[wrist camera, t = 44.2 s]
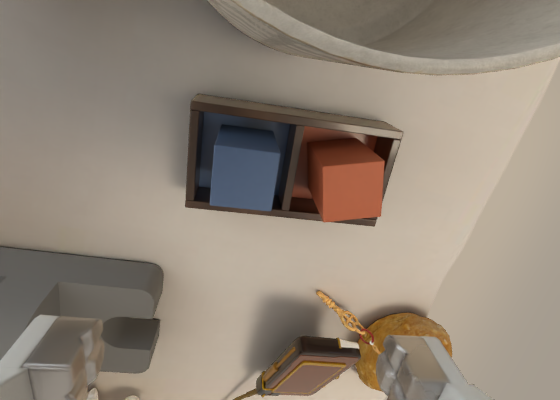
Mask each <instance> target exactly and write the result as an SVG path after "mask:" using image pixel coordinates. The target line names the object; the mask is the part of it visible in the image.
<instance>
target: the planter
mask: <svg viewBox="0 0 560 400" xmlns="http://www.w3.org/2000/svg"><path fill="white" fill-rule="evenodd" d="M207 1H208V2H209V3H210V4H211V5H212V6H213V7H214V8H215V9H216V10H217V11H218V12H219V13H220V14H221V15H222V16H223V17H224V18H225V19H226V20H227V21H228V22H230V23H231V24H232V25H233V26H234V27H236V28H237V29H238V30H240V31H241V32H243V33H244V34H246V35H247V36H249V37H250V38H252V39H254V40H256V41H258V42H259V43H261V44H263V45H265V46H268V47H270V48H272V49H275V50H277V51H281V52H284V53H287V54H291V55H295V56H301V57H306V58H312V59H319V60H325V61H331V62H338V63H344V64H350V65H357V66H363V67H369V68H376V69H382V70H388V71H395V72H401V73H413V74H426V75H468V74H480V73H487V72H494V71H501V70H508V69H515V68H519V67H523V66H527V65H531V64H536V63H540V62H544V61H548V60H552V59H555V58H558V57H560V0H207Z"/></svg>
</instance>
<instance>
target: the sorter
mask: <svg viewBox="0 0 560 400" xmlns="http://www.w3.org/2000/svg"><path fill="white" fill-rule="evenodd" d="M190 109H191V110H190V124H189V144H188V163H187V182H186V202H185V207H188V208H198V209H207V210H217V211H227V212H237V213H247V214H257V215H267V216H276V217H286V218H296V219H306V220H316V221H323V220H322V218H321V216H320V213H319V211H318V209H317V207H316V204H315V202H314V200H313V198H312V195H311V193H310V191H309V188H308V159H307V142H316V141H328V140H339V139H350V138H357V139H358V140H360V141H361V142H362V143H363V144H365V145H366V146H367V147H368V148H369V149H371V150H372V151H373V152H374V153H376V154H377V155H378V156H379V157H380V158H382V159H383V160H384V161H385V162H384V178H383V193H382V201H383V198H384V194H385V191H386V188H387V185H388V181H389V178H390V175H391V171H392V168H393V165H394V162H395V158H396V155H397V152H398V148H399V145H400V142H401V139H402V135H403V131H401V130H399V129H397V128H395V127H393V126H392V125H390V124H388V123H386V122H383V121H376V120H370V119H363V118H356V117H350V116H343V115H336V114H330V113H323V112H316V111H310V110H303V109H296V108H290V107H283V106H276V105H270V104H263V103H256V102H250V101H243V100H236V99H230V98H223V97H216V96H210V95H203V94H197V96H196V97H194V98H193V99H192V100H191V105H190ZM222 124H224V125H231V126H238V127H246V128H253V129H260V130H268V131H273V132H274V135H275V138H276V141H277V144H278V147H279V150H280V154H281V155H280V162H279V168H278V174H277V180H276V186H275V192H274V198H273V205H272V210H271V211H261V210H251V209H241V208H231V207H222V206H212V205H210V192H211V179H212V167H213V155H214V145H215V142H216V139H217V136H218V133H219V130H220V127H221V125H222ZM376 220H377V217H371V218H362V219H352V220H342V221H332V222H335V223H345V224H355V225H365V226H375V224H376Z"/></svg>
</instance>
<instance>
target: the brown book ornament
mask: <svg viewBox="0 0 560 400" xmlns="http://www.w3.org/2000/svg"><path fill="white" fill-rule="evenodd" d="M316 293H317V295H318V296H320V297H321V298H322V300H323V302H324V303H325V302H326V305H329V308H331V307H332V308H333V309H334V311H335V312H337V314H338V315H339V317H340V319H341V322H342V323H343V325H344V326H345V327H346V328H347V329H349V330H350V331H356V332H357V333H359V336H360V338H361V340H362V341H363V342H364V343H366V344H368V345H370V344H371V345H372V347H373V349H374V347H376V346H375V345H374V336H373V334H372V333H371V332H370V331H369V330H367V329H364V327H363V326H362V325H361V324H360V323H359V321H358V319H357V318H356V317H355V316H354V315H353V314H352V313H351V312H349V311H344V310H341V309H340V308H339V307H338V306H336V305H335V302H334V301H333V302H332V299H329V297H328V296H325V295H324V294H323V293H322V292H321V291H318V292H316ZM345 314H348V315H350V317H349V318H348V317H347V316H346V315H345ZM344 318H345V319H346V322H345V320H344ZM352 318H353V319H354V320H355V322H353V321H352V320H351V319H352ZM349 322H350V323H351V324H352V327H353V328H352V327H350V326H349V325H348V323H349ZM356 325H358V326H359V327H360V328H361V330H358V329H357V328H356ZM365 331H367V332H368V333H369V334H370V335H371V337H372V340H371V341H370V342H366V341H365V340H364V339H363V338H362V336H361V334H362V335H363V334H365ZM374 350H375V349H374ZM375 351H376V352H377V353H378V354H381V353H380V351H379V350H378V348H377V347H376V350H375ZM360 359H361V354H360V350H359V345H358V343H357V342H350V341H346V340H342V339H339V338H336V339H333V338H322V337H311V336H300V337H298V338H297V339H296V340H295V341H294V342H293V343H292V344H291V345H290V346H289V347H288V348H287V349H286V350H285V351H284V352H283V353H282V354H281V355H280V356H279V357H278V358H277V359H276V361H275V362H274V363H273V364H272V365H271V366H270V367H269V368H268V369H267V370H266V371H263V372H262V374H261V375H260V376H259V377H258V378H257V381H256V389H254V390H251V391H249V392H247V393H246V394H243V395H241V396H239V397H236V398H235V399H234V400H241V399H244V398H246V397H250V396H252V395H255V394H258V395H261V396H262V397H264V396H265V395H269V396H279V395H303V396H309V395H313V394H314V393H316V392H317V391H319V390H320V389H321V388H322V387H325V386H326V385H327V384H328V383H330V382H331V381H332V380H334V379H338V378H339V375H340V374H342V373H343V372H344V371H346V370H347V369H349V368H350V367H351V366H353V365H354V364H355V363H357V362H358V361H359V360H360Z"/></svg>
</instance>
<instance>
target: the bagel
mask: <svg viewBox="0 0 560 400" xmlns="http://www.w3.org/2000/svg"><path fill="white" fill-rule="evenodd" d="M367 330H369V331H370V332H371V333H372V334H373V336H374V345H375V346H376V347H377V348H378V350H379V351H380V353H382V352H383V351H385V349H384V346H383V342H384V339H385V337H386V336H388V335H404V336H428V337H436V338H438V339H439V340H440V341H441V343H442V344H443V346H444V347H445V349H446V350H447V352H448V353H449V355H450V356H451V358H452V347H451V342H450V338H449V335H448V334H447V332H446V330H445V329H444V328H443V327H442V326H441V325H439V324H437V323H435V322H434V321H433V320H431V319H429V318H426V317H420V316H419V315H417V314H413V313H407V312H406V313H399V314H392V315H388V316H386V317H384V318H382V319H379V320H377V321H376V322H374V323H373V324H371V325H370V326H369V327H368V328H367ZM362 338H363V339H364V340H365V341H366V342H370V341H371V340H372V337H371V335H370V334H369V333H368V332H367V331H365V334H363V335H362ZM358 345H359V350H360V354H361V359H360V360H359V361H358V362H357V363H355V365H356V367H357V372H358V374H359V378H360V379H361V380H362V382H363V383H364V384H365V385H367V386H368V387H370V388H372V389H376V390H378V391H382V390H381V389H380V387H379V384H378V381H377V376H376V362H377V359H378V355H379V354H378V353H377V352H376V351H375V350H376V347H374V349H375V350H374V349H373V347H372V345H371V344H370V345H368V344H366V343H364V342H363V341H362V340H361V338H360V339H359V341H358ZM382 392H383V391H382Z"/></svg>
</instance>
